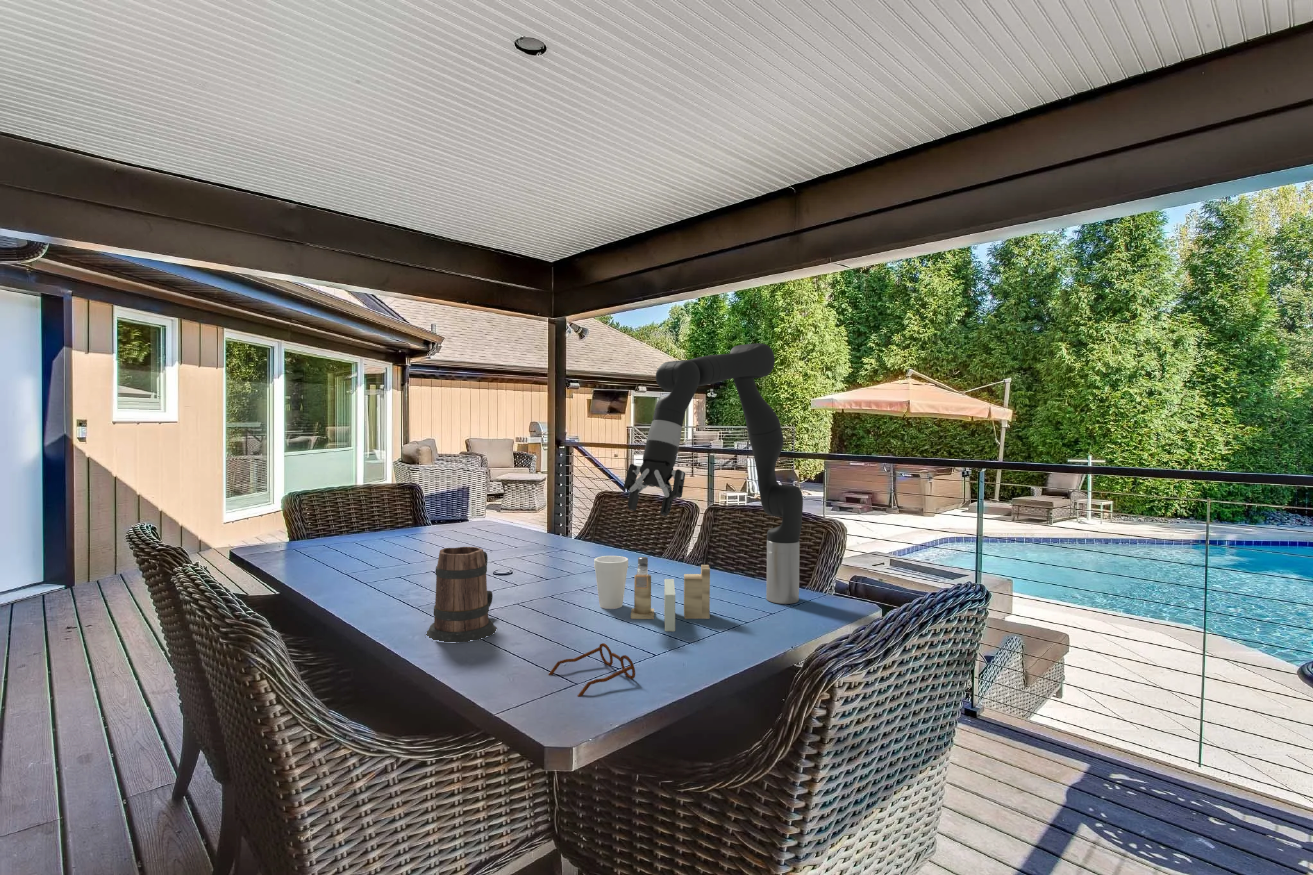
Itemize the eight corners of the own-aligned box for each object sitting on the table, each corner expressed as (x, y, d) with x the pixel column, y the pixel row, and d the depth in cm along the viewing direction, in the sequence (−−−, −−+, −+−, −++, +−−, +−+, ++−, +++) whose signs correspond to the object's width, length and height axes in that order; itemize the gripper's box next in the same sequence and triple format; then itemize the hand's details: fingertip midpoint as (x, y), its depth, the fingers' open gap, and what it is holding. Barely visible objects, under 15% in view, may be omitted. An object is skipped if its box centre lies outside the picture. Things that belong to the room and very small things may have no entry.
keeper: (683, 612, 175) (684, 564, 175) (708, 613, 175) (708, 564, 175) (684, 618, 170) (684, 568, 170) (709, 618, 170) (709, 569, 170)
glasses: (636, 683, 129) (637, 658, 129) (578, 699, 121) (578, 672, 121) (602, 662, 140) (602, 639, 139) (547, 676, 132) (547, 651, 132)
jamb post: (631, 612, 175) (631, 573, 175) (654, 612, 175) (654, 573, 175) (630, 618, 169) (631, 578, 169) (653, 618, 169) (654, 578, 169)
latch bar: (637, 573, 174) (637, 556, 174) (648, 573, 174) (648, 556, 174) (635, 588, 158) (635, 569, 158) (647, 588, 158) (647, 569, 158)
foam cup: (600, 612, 175) (600, 563, 175) (589, 603, 184) (589, 557, 183) (633, 608, 179) (633, 561, 179) (621, 599, 188) (621, 554, 187)
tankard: (478, 645, 149) (478, 558, 148) (410, 640, 152) (410, 555, 151) (518, 615, 172) (518, 540, 171) (459, 612, 175) (459, 537, 174)
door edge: (664, 612, 175) (664, 578, 175) (673, 612, 175) (673, 579, 175) (664, 631, 159) (665, 594, 159) (675, 631, 159) (675, 594, 159)
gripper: (697, 450, 149) (682, 520, 145) (645, 445, 156) (630, 511, 153) (681, 441, 143) (666, 513, 139) (628, 436, 150) (612, 505, 147)
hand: (647, 512), depth 146 cm, fingers open, 8 cm apart
